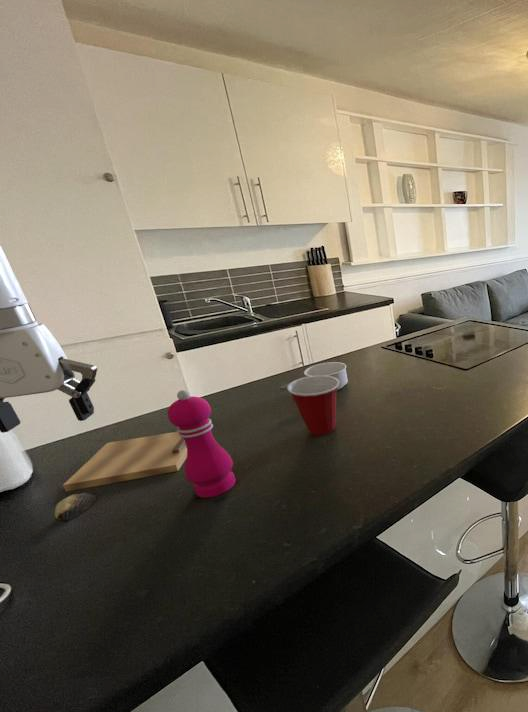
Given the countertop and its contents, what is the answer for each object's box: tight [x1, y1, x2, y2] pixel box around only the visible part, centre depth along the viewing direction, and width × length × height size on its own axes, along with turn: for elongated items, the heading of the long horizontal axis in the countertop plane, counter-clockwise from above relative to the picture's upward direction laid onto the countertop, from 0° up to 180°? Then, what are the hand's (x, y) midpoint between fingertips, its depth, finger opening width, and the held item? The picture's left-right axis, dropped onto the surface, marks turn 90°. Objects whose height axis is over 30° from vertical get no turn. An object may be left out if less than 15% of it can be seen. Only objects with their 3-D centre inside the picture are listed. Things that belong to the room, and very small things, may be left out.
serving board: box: [62, 431, 187, 493], centre depth 86 cm, size 18×16×2 cm
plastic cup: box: [287, 375, 340, 437], centre depth 94 cm, size 11×11×12 cm
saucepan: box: [279, 361, 349, 391], centre depth 115 cm, size 12×20×6 cm, turn 152°
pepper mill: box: [167, 389, 236, 499], centre depth 73 cm, size 7×7×20 cm
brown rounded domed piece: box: [54, 492, 99, 522], centre depth 72 cm, size 6×5×3 cm
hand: (50, 422), depth 66 cm, fingers open, 9 cm apart
